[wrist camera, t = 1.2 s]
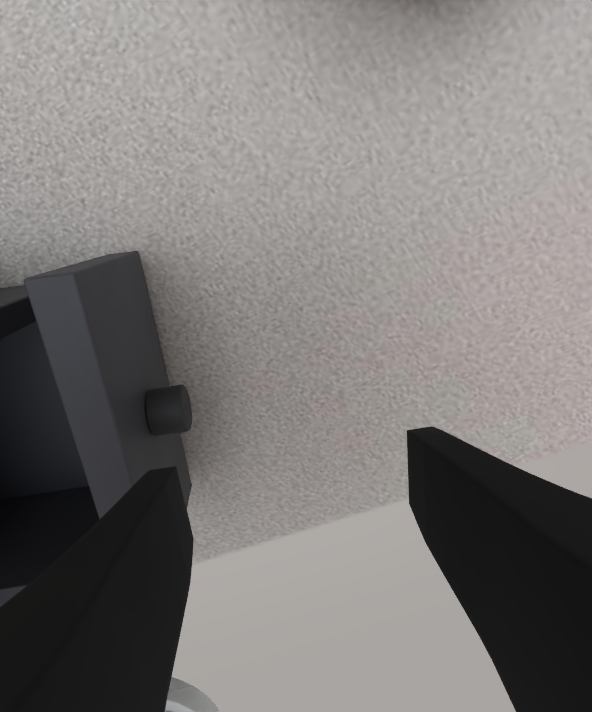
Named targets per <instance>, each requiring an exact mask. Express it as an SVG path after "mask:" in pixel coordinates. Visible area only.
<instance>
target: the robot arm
mask: <svg viewBox="0 0 592 712" xmlns="http://www.w3.org/2000/svg"><path fill="white" fill-rule="evenodd" d="M407 448H408V479H409V504H410V506H411V509H412V511H413V513H414V516H415V519H416V521H417V524H418V526H419V528H420V531H421V533H422V535H423V538H424V540H425V542H426V544H427V546H428V548H429V549H430V551H431V553H432V555H433V557H434V558H435V560H436V562H437V564H438V565H439V567H440V569H441V571H442V572H443V574H444V576H445V577H446V579H447V581H448V583H449V584H450V586H451V588H452V590H453V591H454V593H455V595H456V596H457V598H458V600H459V602H460V603H461V605H462V607H463V608H464V610H465V612H466V614H467V616H468V617H469V619H470V621H471V622H472V624H473V626H474V627H475V629H476V631H477V633H478V635H479V636H480V638H481V640H482V642H483V644H484V646H485V648H486V650H487V651H488V653H489V655H490V657H491V659H492V661H493V663H494V665H495V667H496V670H497V672H498V674H499V676H500V678H501V680H502V682H503V685H504V687H505V689H506V691H507V693H508V695H509V698H510V700H511V702H512V704H513V706H514V708H515V710H516V712H592V499H591V498H589V497H586V496H583V495H580V494H578V493H575V492H573V491H570V490H568V489H565V488H563V487H560V486H558V485H556V484H553V483H551V482H549V481H546V480H544V479H541V478H539V477H537V476H535V475H532V474H530V473H528V472H526V471H523V470H521V469H519V468H517V467H515V466H513V465H511V464H508V463H506V462H504V461H502V460H500V459H498V458H496V457H494V456H492V455H490V454H488V453H486V452H484V451H482V450H480V449H478V448H476V447H474V446H472V445H470V444H468V443H466V442H464V441H462V440H460V439H458V438H456V437H454V436H452V435H450V434H448V433H446V432H444V431H442V430H440V429H437V428H435V427H426V428H419V429H413V430H407ZM192 554H193V535H192V531H191V526H190V522H189V518H188V514H187V509H186V505H185V501H184V497H183V493H182V488H181V484H180V480H179V476H178V471H177V467H176V466H173V467H167V468H160V469H154V470H149V471H148V472H147V473H145V474H144V475H143V476H142V477H141V478H140V479H139V480H138V481H137V482H136V483H135V484H134V485H133V486H132V487H131V488H130V489H129V490H128V491H127V492H126V493H125V494H124V495H123V496H122V498H121V499H120V500H119V501H118V502H117V503H116V504H115V505H114V506H113V507H112V508H111V509H110V510H109V511H108V512H107V513H106V514H105V515H104V516H103V517H102V518H101V519H100V520H99V521H98V522H97V523H96V524H95V525H94V526H93V527H92V528H91V529H90V530H89V531H88V532H86V533H85V534H84V535H83V536H82V537H81V538H80V539H79V540H78V541H77V542H76V543H75V544H73V545H72V546H71V547H70V548H69V549H68V550H67V551H66V552H65V553H64V554H63V555H61V556H60V557H59V558H58V559H57V560H56V561H55V562H54V563H53V564H52V565H51V566H50V567H48V568H47V569H46V570H45V571H44V572H43V573H41V574H40V575H39V576H38V577H37V578H36V579H34V580H33V581H32V582H31V583H30V584H28V585H27V586H26V587H25V588H24V589H22V590H21V591H20V592H19V593H17V594H16V595H15V596H13V597H12V598H11V599H10V600H8V601H7V602H6V603H5V604H3V605H2V606H1V607H0V712H165V708H166V702H167V696H168V691H169V686H170V681H171V676H172V671H173V666H174V661H175V655H176V651H177V646H178V642H179V637H180V632H181V627H182V622H183V617H184V611H185V606H186V602H187V597H188V591H189V586H190V579H191V567H192ZM166 712H172V711H166Z"/></svg>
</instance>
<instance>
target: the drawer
mask: <svg viewBox="0 0 592 712" xmlns="http://www.w3.org/2000/svg"><path fill="white" fill-rule="evenodd" d="M24 284H25V285H24V286H16V287H8V288H0V607H1V606H2V605H3V604H5V603H6V602H7V601H8V600H10V599H11V598H12V597H13V596H15V595H16V594H17V593H19V592H20V591H21V590H22V589H24V588H25V587H26V586H27V585H28V584H30V583H31V582H32V581H33V580H34V579H36V578H37V577H38V576H39V575H40V574H41V573H43V572H44V571H45V570H46V569H47V568H48V567H50V566H51V565H52V564H53V563H54V562H55V561H56V560H57V559H58V558H59V557H60V556H61V555H63V554H64V553H65V552H66V551H67V550H68V549H69V548H70V547H71V546H72V545H73V544H75V543H76V542H77V541H78V540H79V539H80V538H81V537H82V536H83V535H84V534H85V533H86V532H88V531H89V530H90V529H91V528H92V527H93V526H94V525H95V524H96V523H97V522H98V521H99V520H100V519H101V518H102V517H103V516H104V515H105V514H106V513H107V512H108V511H109V510H110V509H111V508H112V507H113V506H114V505H115V504H116V503H117V502H118V501H119V500H120V499H121V498H122V496H123V495H124V494H125V493H126V492H127V491H128V490H129V489H130V488H131V487H132V486H133V485H134V484H135V483H136V482H137V481H138V480H139V479H140V478H141V477H142V476H143V475H144V474H145V473H147V472H148V471H149V470H154V469H160V468H167V467H173V466H176V467H177V471H178V476H179V480H180V484H181V488H182V493H183V497H184V501H185V505H186V509H187V505H188V501H189V496H190V491H191V486H192V484H191V480H190V475H189V471H188V467H187V462H186V458H185V453H184V449H183V444H182V440H181V436H180V432H186V431H189V430H190V428H191V424H192V411H191V403H190V398H189V394H188V391H187V389H186V387H185V386H184V385H178V386H171V387H169V383H168V378H167V374H166V369H165V365H164V361H163V356H162V352H161V347H160V343H159V338H158V334H157V330H156V325H155V321H154V316H153V312H152V308H151V303H150V299H149V294H148V290H147V285H146V281H145V277H144V272H143V268H142V263H141V259H140V255H139V252H138V251H133V252H125V253H117V254H109V255H105V256H101V257H98V258H94V259H91V260H87V261H84V262H80V263H77V264H73V265H70V266H67V267H63V268H60V269H56V270H53V271H49V272H46V273H42V274H39V275H35V276H32V277H28V278H26V279H24Z"/></svg>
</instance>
